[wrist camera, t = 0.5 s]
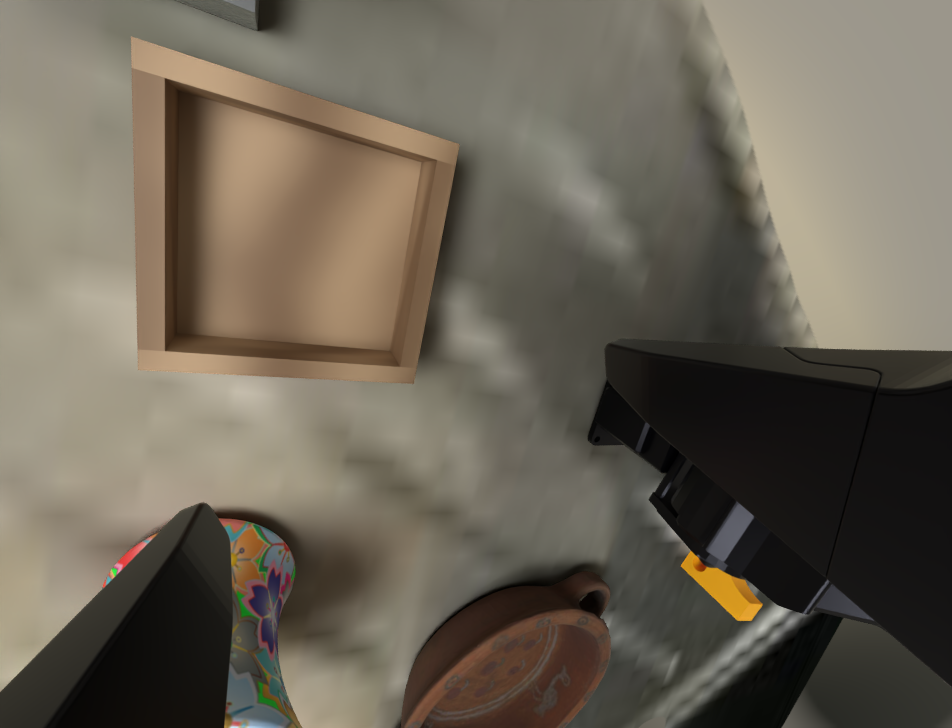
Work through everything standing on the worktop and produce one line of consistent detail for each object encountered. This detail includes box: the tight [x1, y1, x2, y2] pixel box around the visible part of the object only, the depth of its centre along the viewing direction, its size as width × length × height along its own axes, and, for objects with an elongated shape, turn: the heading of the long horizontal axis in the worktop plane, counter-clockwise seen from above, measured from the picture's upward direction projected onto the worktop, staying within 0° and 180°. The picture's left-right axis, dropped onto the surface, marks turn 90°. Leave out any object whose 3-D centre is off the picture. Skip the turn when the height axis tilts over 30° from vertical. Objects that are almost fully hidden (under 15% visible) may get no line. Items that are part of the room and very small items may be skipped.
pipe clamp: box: [681, 551, 763, 621], centre depth 40 cm, size 12×4×6 cm, turn 150°
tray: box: [131, 37, 460, 384], centre depth 17 cm, size 10×10×3 cm
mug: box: [102, 519, 302, 728], centre depth 18 cm, size 12×9×11 cm
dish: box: [401, 571, 611, 728], centre depth 33 cm, size 17×22×5 cm
